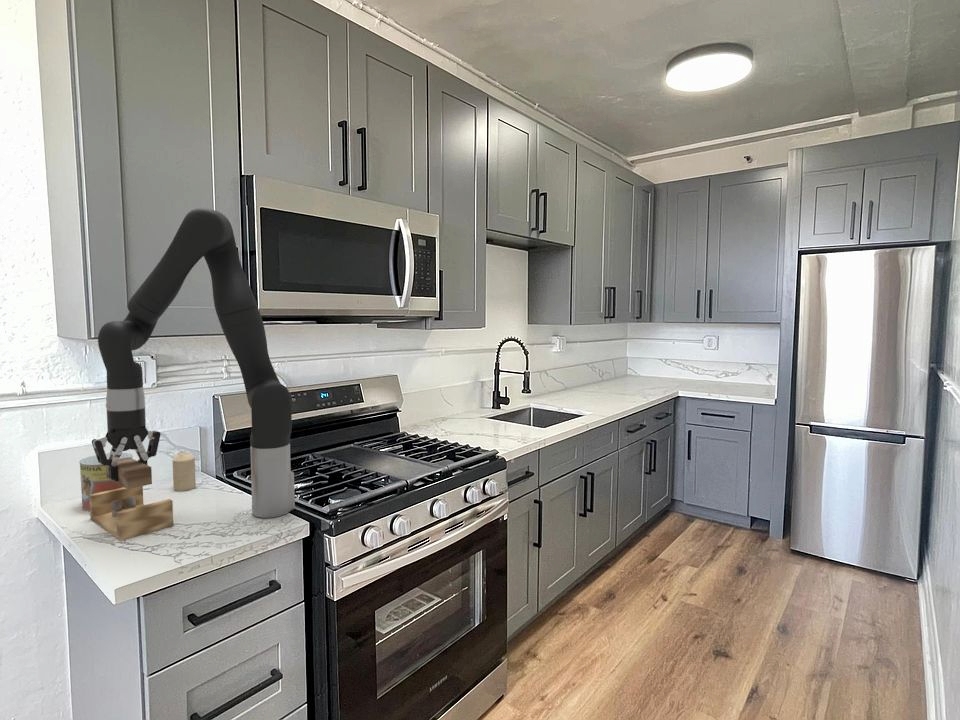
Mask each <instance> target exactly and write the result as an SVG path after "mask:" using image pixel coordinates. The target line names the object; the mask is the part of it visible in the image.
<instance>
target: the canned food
mask: <svg viewBox="0 0 960 720" xmlns="http://www.w3.org/2000/svg"><path fill="white" fill-rule="evenodd" d="M105 454H106V457H107V459H109V456H110V452H109V453H105ZM128 457H130V458H132V459H133V454H131V453H127V452H122V455H121V456H120V458H119V459H122V458H128ZM78 463H79V468H80V470H79V471H80V489H81V509H82V510H83V511H85V512H89V513H90V501H89V495H90V494H95V493H100V492H104V491H109V490H113V489H118V488H122V487H123V486H121V485H119V484H117V483H115V482H113V481H112V480H110V479H108V478H107V476H106V465H102V464H100V463H99V462H98V459H97V457H96V454H94V455H92V456H87V457H85V458H82V459H81V460H79V462H78Z"/></svg>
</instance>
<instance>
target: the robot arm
mask: <svg viewBox="0 0 960 720" xmlns="http://www.w3.org/2000/svg"><path fill="white" fill-rule="evenodd" d="M202 258H204V260H205V262H206V265H207V267H208V271H209V273H210V277H211V285H212V286H211V287H212V297H213V298H212V299H213V304H214V309H215V313H216V316H217V319H218V322H219V324H220V326H221V330H222V333H223V334H224V336H225V339H226V342H227V344H228V346H229V348H230V350H231V352H232V354H233V356H234V359H235V360H236V362H237V364H238V366H239V370H240V373H241V376H242V380H243V384H244V388H245V393H246V398H247V403H248V405H249V407H250V409H251V410H250V411H251V433H250V437H249V439H250V440H249V442H250V449H249V450H250V475H251V476H250V477H251V481H250V482H251V514H252V515H253V516H254V517H257V518H263V519H264V518H268V519H269V518H276V517H281V516H283V515H286V514H288V513H290V512H291V511H292V510H295V509H296V504H295V503H296V502H295V501H296V500H295V472H294V471H292V470H291V466H292V465H291V436H292V429H293V428H292V425H293V423H292V421H293V420H292V415H293V414H292V413H293V411H292V410H293V409H292V407H293V406H292V397H291V396H292V395H291V393H290V391H289V389H288V388H287V387H286V386H285V385H284V384H283V383H281V381H280V379H279V378H278V376H277V373H276V370H275V369H274V366H273V364H272V362H271V358H270V354H269V349H268V343H267V335H266V330H265V325H264V322H263V318H262V314H261V312H260V310H259V306H258V303H257V301H256V298H255V295H254V293H253V291H252V288H251V285H250V283H249V281H248V278H247V276H246V274H245V271H244V269H243V266H242V263H241V259H240V256H239V251H238V247H237V243H236V239H235V235H234V230H233V226H232V224H231V221H230V220H229V218H228V217H227V216H226V215H225V214H223V213H222V212H220V211H218V210H216V209H211V208H208V207H198V208H194V209H192V210H190V211H189V212H187V214H185V216H184V218H183V219H182V221H181V223H180V225H179V227H178V228H177V232H176V233H175V235H174V236H173V239H172V241H171V243H170V244H169V246H168V248H167V249H166V251H165V253H164V254H163V255H162V257H161V259H160V260H159V261H158V263H157V264H156V266H155V267H154V268H153V270H152V271H151V272H150V274H149V275H148V276H147V277H146V279H145V280H144V281H143V282H142V284H141V285H140V286H139V288H138V289H137V290H136V291H135V293H134V294H132V296H131V298H130V299H129V300H128V302H127V306H126V307H127V310H128V313H127V315H126V317H124V319H123V320H117V321H115V320H113V321H109V322H106V323H105V324H103V325H102V326H101V328H100V330H99V332H98V334H97V335H98V336H97V345H98V349H99V353H100V356H101V359H102V361H103V365H104V367H105V371H106V396H105V397H106V398H105V399H106V400H105V408H106V422H107V423H106V425H107V431H106V432H107V433H106V434H105V436H104V437H101V438H98V439H97V438H93V439H92V440H91V445H92V448H93V451H94V453H95V454H94V455H96V457H97V459H98V462H99V463H100V464H102V465H108V471H109V478H110V479H111V480H112V481H114V482H117V481H118V466H117V463H118V460H119V458H120V456H121V455H122V453H124V452H126V451H128V450H132V451H133V450H134V451H135V453H136V454H137V457H138V459H137V461H139V462H141V463H143V464H146V465H148V460H149V459H150V458H152V457H156V456H157V452H158V448H159V443H160V439H161V432H160V431H157V430H148V429H147V427H146V425H147V423H146V422H147V421H146V420H147V419H146V398H145V397H146V396H145V391H144V377H143V376H144V375H143V368H142V367H143V366H142V365H141V364H140V363H139V362H136V361H135V360H134V355H133V351H136V350H138V349H140V348H142V347H143V346H144V345H145V344H146V343H147V342H148V341H149V339H150V337H151V336H152V333H153V331H154V330H155V328H156V325H157V323H158V320H159V319H160V317H161V316H162V315H163V314H164V313H165V311H167V309H168V308H169V307H170V305H171V304H172V303H173V301H174V300H175V299H176V297H177V296H178V294H179V292H180V290H181V288H182V286H183V284H184V282H185V280H186V278H187V276H188V275H189V273H190V272H191V271H192V269H193V268H194V267H195V266H196V265H197V263H198V262H200V260H201V259H202ZM146 437H147V439H148V440H149V441H148V445H147V451H146V448H145V446H144V444H143V442H144V440H145V439H146ZM107 442H108V443H109V444H110V445H111V449H110V451H109V453H110V456H109V459H107V457H106V454H107V453H106V451H105V447H106V445H107ZM148 466H149V465H148Z"/></svg>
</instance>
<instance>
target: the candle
mask: <svg viewBox="0 0 960 720" xmlns="http://www.w3.org/2000/svg"><path fill="white" fill-rule="evenodd" d="M172 481H173V482H172V483H173V484H172V485H173V490H174V491H176V492H185V491H191V490H193V489H195V488H196V484H197V483H196V458H195V456H194V455H192V454H191V453H190V452H181V453H177V454H176V456H174V457H173V458H172Z"/></svg>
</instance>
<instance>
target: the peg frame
mask: <svg viewBox="0 0 960 720" xmlns="http://www.w3.org/2000/svg"><path fill="white" fill-rule="evenodd" d="M89 501H90V512H89V515H90V518H89V519H90V520H92V521H93V522H94V523H95V524H96V525H98V526H99V527H101V528H102V529H104V530H105V531H106V532H108V533H109V534H111V535H112V536H113V537H114V538H116V539H118V541H124V540H126V539H130V538H133V537H137V536H141V535H144V534H147V533H152V532H154V531H159V530H162V529H165V528H169V527H172V526H174V509H173V508H174V507H173V503H174V502H173V499H171V498H168V499H164V500H160V501H155V502H151V503H148V504H144V487H143V486H140V487H136V488H131V489H126V488H124V487H122V488H118V489H113V490H109V491H104V492H100V493H95V494H90V495H89Z"/></svg>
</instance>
